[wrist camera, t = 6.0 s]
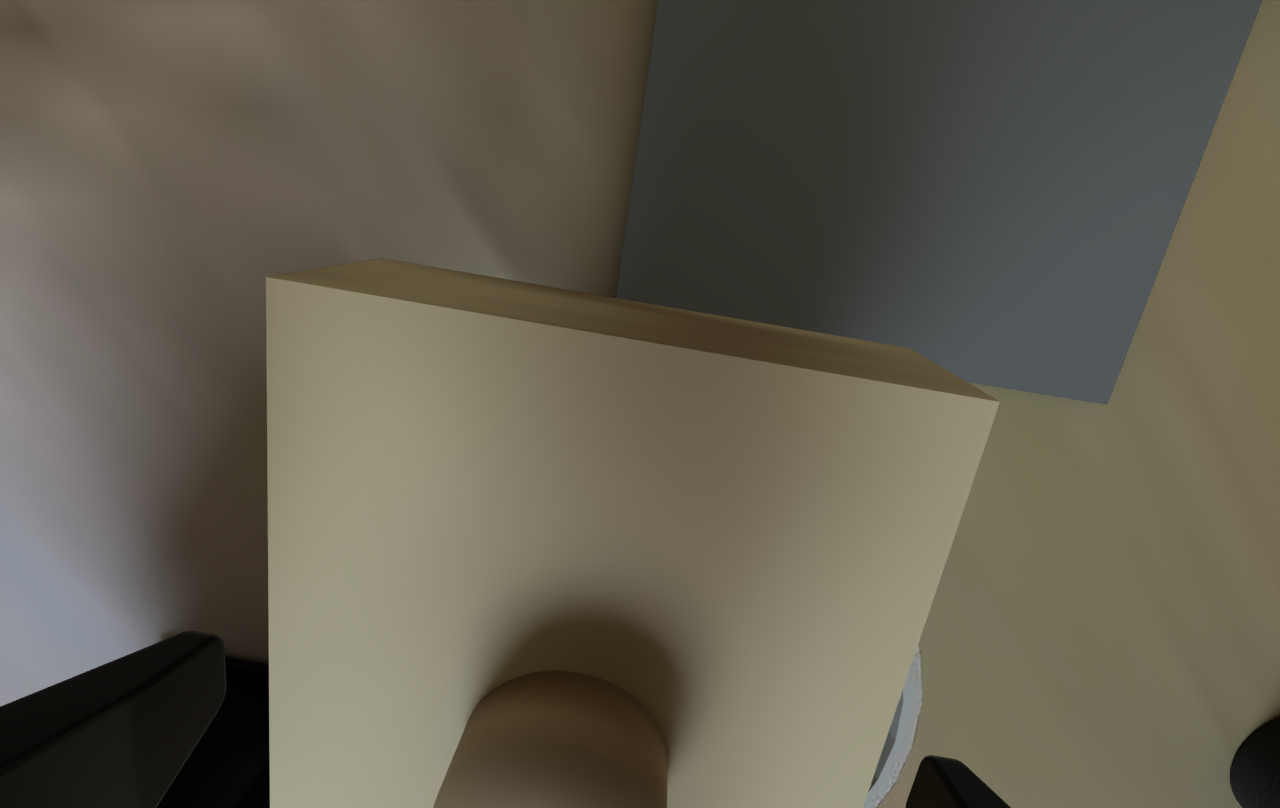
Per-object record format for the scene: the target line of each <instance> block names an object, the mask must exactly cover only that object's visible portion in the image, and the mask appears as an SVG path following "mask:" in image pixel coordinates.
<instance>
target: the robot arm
mask: <svg viewBox="0 0 1280 808" xmlns="http://www.w3.org/2000/svg"><path fill="white" fill-rule="evenodd" d="M0 808H270V753H269V665H268V664H262V663H256V662H250V661H244V660H238V659H232V658H226V657H225V647H224V642H223V640H222V639H221V637H219V636H217V635H213V634H207V633H201V632H195V631H188V632H184V633H181V634H178V635H176V636H173V637H171V638H168V639H166V640H163V641H161V642H158V643H156V644H154V645H151V646H149V647H146V648H144V649H141V650H139V651H136V652H134V653H131V654H129V655H126V656H124V657H122V658H119V659H117V660H114V661H112V662H109V663H107V664H104V665H102V666H99V667H97V668H94V669H92V670H90V671H87V672H85V673H82V674H80V675H77V676H75V677H72V678H70V679H67V680H65V681H62V682H60V683H58V684H55V685H53V686H50V687H48V688H45V689H43V690H40V691H38V692H35V693H33V694H30V695H28V696H26V697H23V698H21V699H18V700H16V701H13V702H11V703H8V704H6V705H3V706H1V707H0ZM906 808H1011V807H1010V806H1008V805H1007V804H1006V803H1005V802H1004V801H1003V800H1002V799H1001V798H1000V797H999V796H998V795H997V794H996V793H995V792H993V791H992V790H991V789H990V788H989V787H988V786H987V785H986V784H985V783H984V782H983V781H982V780H981V779H980V778H978V777H977V776H976V775H975V774H974V773H973V772H972V771H971V770H970V769H969V768H968V767H967V766H966V765H964V764H963V763H962V762H960V761H958V760H956V759H951V758H945V757H939V756H933V755H929V756H926V757H925V758H924V759H923V760H922V761H921V763H920V766H919V769H918V771H917V774H916V777H915V780H914V783H913V785H912V788H911V791H910V794H909V797H908V800H907V803H906Z"/></svg>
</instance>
